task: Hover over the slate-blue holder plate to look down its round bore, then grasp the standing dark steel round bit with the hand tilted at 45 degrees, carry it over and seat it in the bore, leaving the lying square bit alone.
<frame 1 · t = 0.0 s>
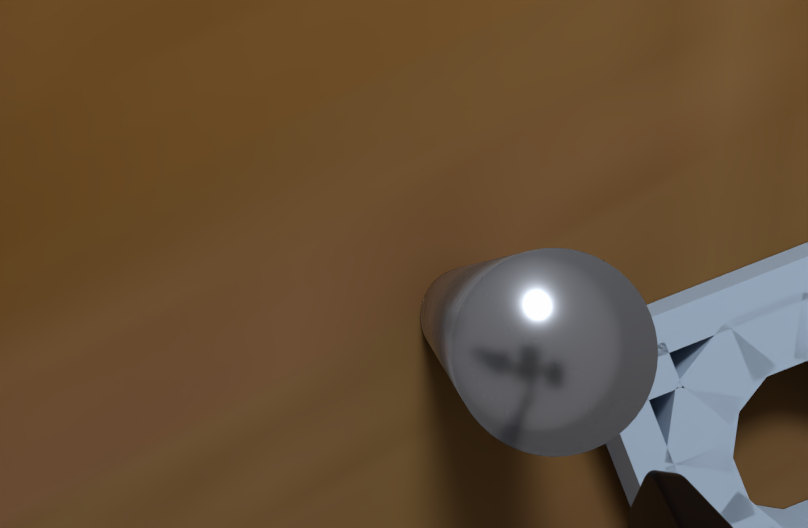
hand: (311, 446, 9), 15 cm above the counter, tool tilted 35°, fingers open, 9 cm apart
round bit: (468, 315, 24), on the counter
holder: (774, 430, 24), on the counter
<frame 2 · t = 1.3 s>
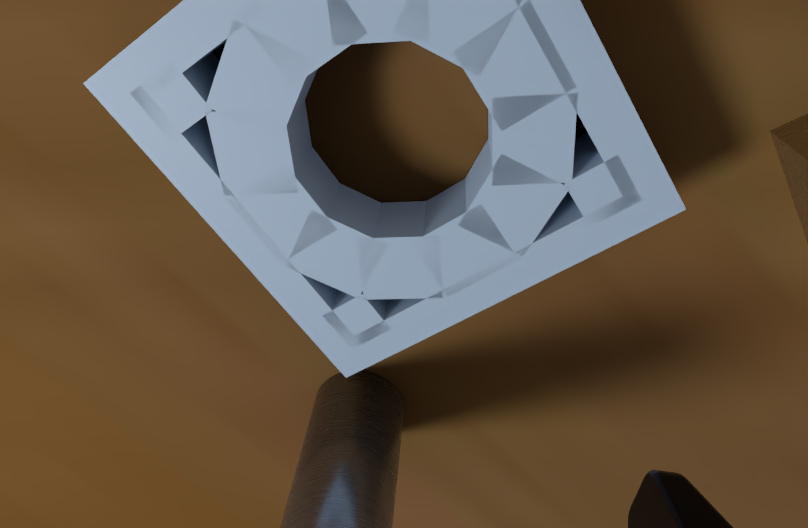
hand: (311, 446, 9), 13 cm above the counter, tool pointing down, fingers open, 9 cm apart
round bit: (359, 405, 26), on the counter
holder: (397, 119, 20), on the counter
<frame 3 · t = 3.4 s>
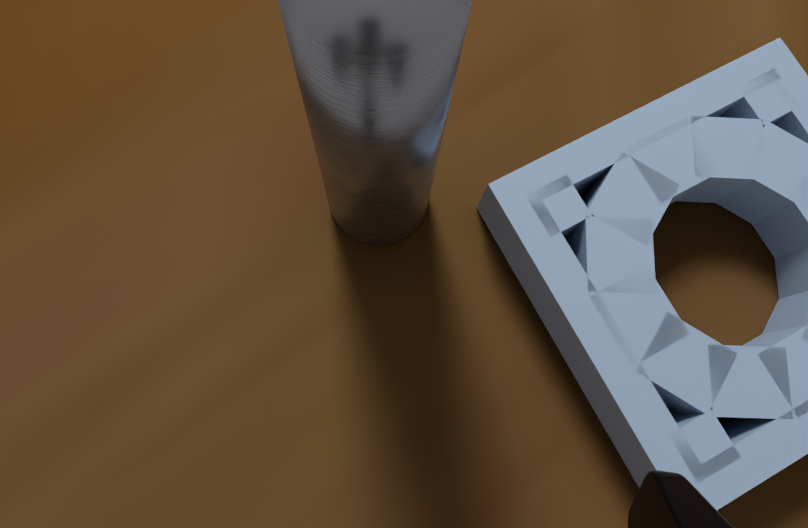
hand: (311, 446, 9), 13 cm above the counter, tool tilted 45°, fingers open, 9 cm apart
round bit: (378, 197, 23), on the counter
holder: (701, 275, 23), on the counter
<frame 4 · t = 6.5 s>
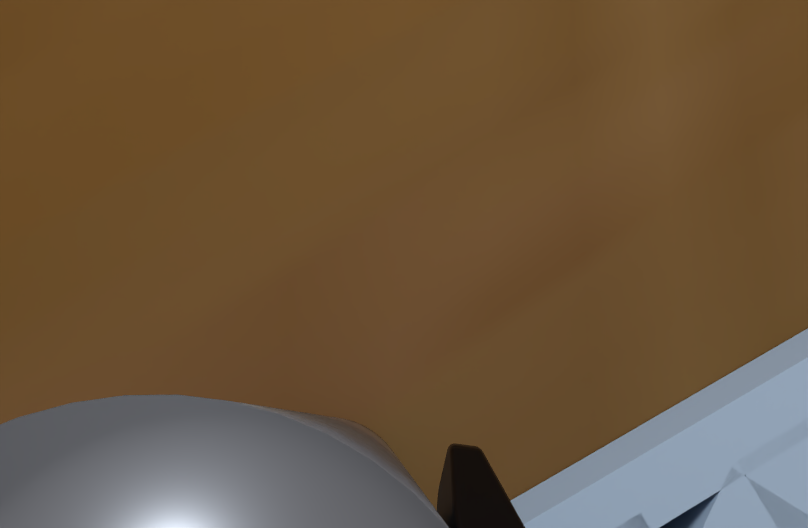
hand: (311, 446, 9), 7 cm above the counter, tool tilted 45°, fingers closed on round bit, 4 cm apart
round bit: (328, 498, 15), on the counter, touching gripper
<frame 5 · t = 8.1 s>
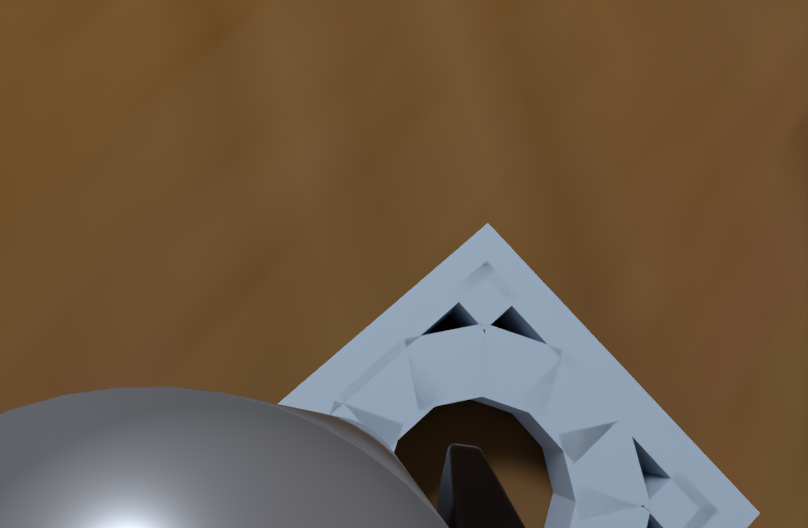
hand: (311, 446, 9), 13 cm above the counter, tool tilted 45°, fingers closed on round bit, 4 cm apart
round bit: (327, 497, 15), point 7 cm above the counter, touching gripper
holder: (467, 487, 21), on the counter
when the fingers open (7 cm above the counter, at t = 10.1 s): round bit stays where it is, resting in holder.
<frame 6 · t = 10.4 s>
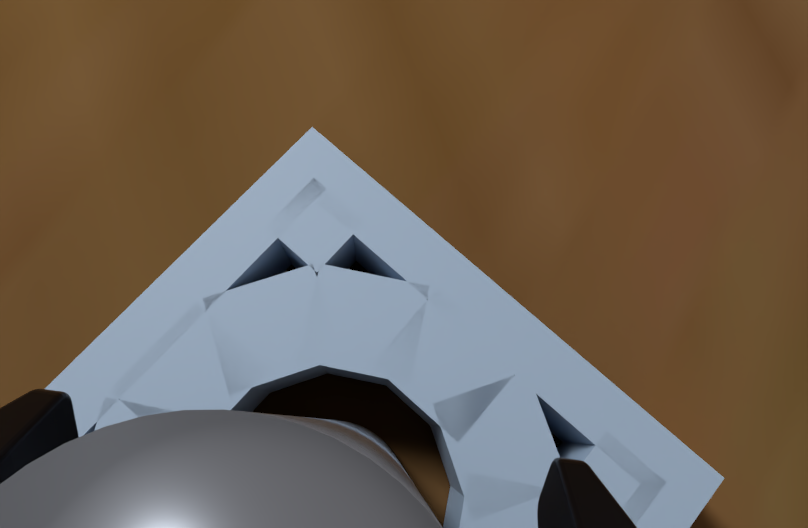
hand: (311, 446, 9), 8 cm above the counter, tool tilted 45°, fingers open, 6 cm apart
round bit: (332, 496, 16), resting in holder
holder: (331, 493, 16), on the counter
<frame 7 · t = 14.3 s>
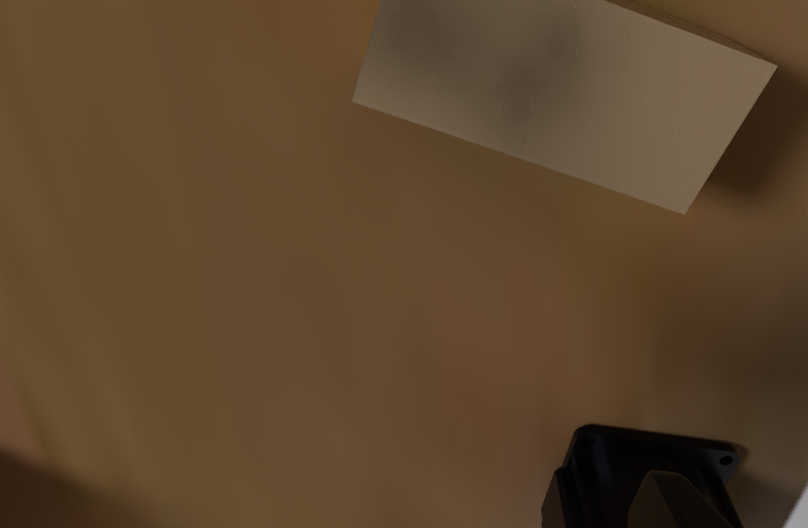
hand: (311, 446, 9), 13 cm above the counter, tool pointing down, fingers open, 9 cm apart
square bit: (537, 47, 18), on the counter
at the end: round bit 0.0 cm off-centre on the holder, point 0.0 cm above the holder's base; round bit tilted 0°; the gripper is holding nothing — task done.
